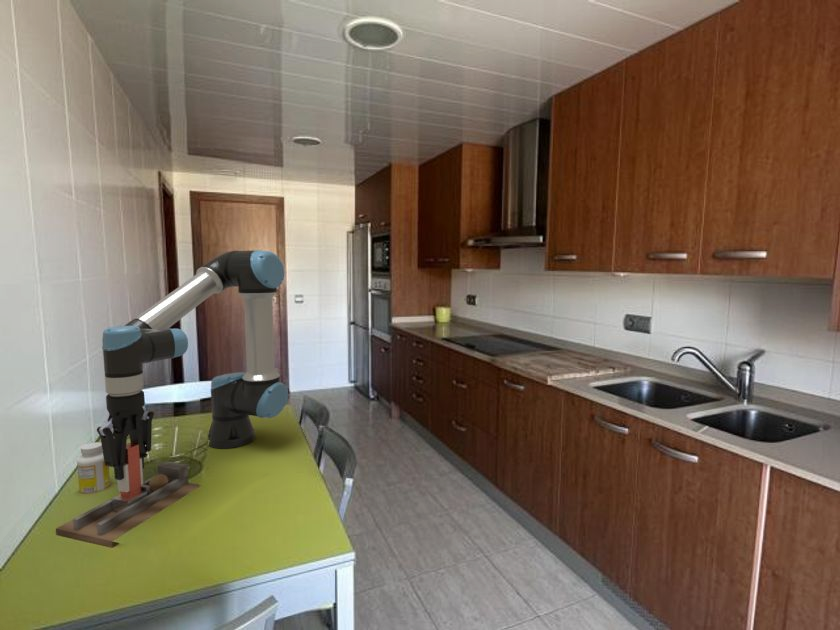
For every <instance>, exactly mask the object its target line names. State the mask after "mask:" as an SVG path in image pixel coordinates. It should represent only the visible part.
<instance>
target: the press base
mask: <svg viewBox="0 0 840 630" xmlns="http://www.w3.org/2000/svg"><path fill="white" fill-rule="evenodd" d="M156 471H157V473H156V475H158V474H163V475H165V476H167V478H168V480H169V483H168V484H167V485H165V486H163V487H161V488H160V489H158V490H156V491H154V492H153V491H152V490H151V489H150V494H149V495H147V496H145V497H144V498H142V499H140V500H138V501H137V502H135V503H133V504H131V505H129V506H128V507H126V508H124V509H122V510H121V511H119V512H117V511H112V498H110V499H108V500H106V501H104V502H102V503H101V504H99V505H97V506H95V507H93V508H92V509H89V510H87V511H85V512H84V513H82V514H80V515H78V516H77V517H74V518H72V519H71V520H69V521H68V522H65V523H64V524H61V525H60V526H58V527H56V528H55V536H60V537H63V538H67V539H72V540H77V541H79V542H80V541H81V542H86V543H89V544H94V545H98V546H103V547H106V548H107V547H108V548H111V549H112V548H114V547H116V546H118V545H119V544H120V542H116V541H115V540H117V539H118V538H120V537H122V536H124V534H126V533H128V532H129V531H131V530H132V529H134V528H136V527H137V526H139V525H140V524H143V523H144V522H146V520H149V519H150V518H152V517H153V516H155V515H157V514H158V513H160V512H162V511H163V510H165V509H166V508H168V507H169V506H171V505H172V504H174V503H176V502H177V501H179V500H181V499H182V498H184V497H186V496H187V495H190V493H192V492H194V491H195V490H196V489H198V488H200V487H202V484H198V483H192V482H189V475H188V474H189V473H188V472H189V470H188V464H186V463H185V464H183V463H178V462H171V461H165V462H163V463H161V464H159V465H157V466H156ZM151 478H152V477H150V478H147V479H146V480H143V485H149V482H150V480H151Z"/></svg>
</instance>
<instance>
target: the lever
mask: <svg viewBox="0 0 840 630" xmlns="http://www.w3.org/2000/svg"><path fill="white" fill-rule="evenodd" d="M125 464H127V465H128V471H129V488H130V491H129V492H122V491H119V493H120V494H118V495H115V496H114V497H112V498H111V499H112V511H117V512H119V511H121V510H122V509H124V508H126V507H128V506H129V505H131V504H133V503H135V502H137V501H138V500H140V499H142V498H144V497H145V496H147V495H149V494H150V486H149V485H143V484H142V485H141V474H140V457H139V444H133V443H131V442H129V443H126V455H125Z"/></svg>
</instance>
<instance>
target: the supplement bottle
mask: <svg viewBox="0 0 840 630" xmlns="http://www.w3.org/2000/svg"><path fill="white" fill-rule="evenodd" d="M80 453H81V454H82V455H81V456H79V457H78V458H77V460H76V467H77V479H78V491H79V493H80V494H81V493H82V494H92V493H97V492H101V491H103V490H105V489H107V488H109V487H110V485H111V478H110V467H109V466H105V463H104V456H103V450H102V444H101V441H100V442H99V441H96V442H89V443H86V444H83V445H81V447H80Z"/></svg>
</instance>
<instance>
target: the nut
mask: <svg viewBox="0 0 840 630" xmlns="http://www.w3.org/2000/svg"><path fill="white" fill-rule="evenodd" d="M150 478H151V480H150V482H149V486H150V489H151V490H152V491H153V492H154V491H156V490H158V489H160V488H161V487H163V486H165V485H167V484H168V483H169V480H168V478H167V476H165V475H163V474H156V475H154V476H152V477H150Z"/></svg>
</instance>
